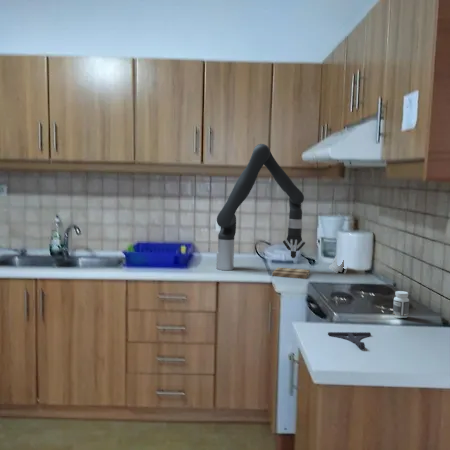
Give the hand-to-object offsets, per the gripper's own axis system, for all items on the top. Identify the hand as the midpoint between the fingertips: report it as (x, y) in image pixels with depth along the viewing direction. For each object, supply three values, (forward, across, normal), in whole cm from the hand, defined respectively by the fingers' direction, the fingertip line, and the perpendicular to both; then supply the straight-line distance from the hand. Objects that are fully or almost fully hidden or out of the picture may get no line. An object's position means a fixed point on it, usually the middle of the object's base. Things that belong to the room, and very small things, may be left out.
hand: (293, 257), depth 273 cm
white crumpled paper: (+8, +25, +16) cm, 31 cm away
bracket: (+8, +37, -108) cm, 115 cm away
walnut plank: (+8, 0, -11) cm, 14 cm away
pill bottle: (+8, +53, -72) cm, 90 cm away
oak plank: (+8, 0, -3) cm, 9 cm away
